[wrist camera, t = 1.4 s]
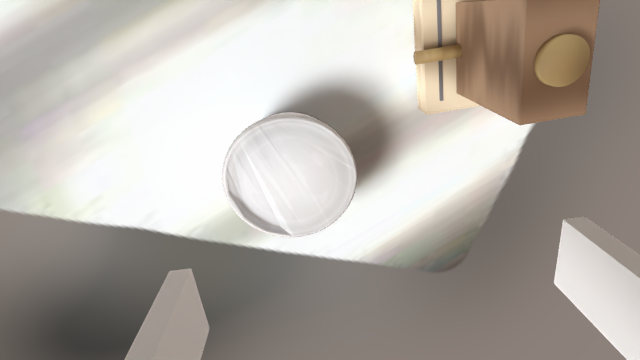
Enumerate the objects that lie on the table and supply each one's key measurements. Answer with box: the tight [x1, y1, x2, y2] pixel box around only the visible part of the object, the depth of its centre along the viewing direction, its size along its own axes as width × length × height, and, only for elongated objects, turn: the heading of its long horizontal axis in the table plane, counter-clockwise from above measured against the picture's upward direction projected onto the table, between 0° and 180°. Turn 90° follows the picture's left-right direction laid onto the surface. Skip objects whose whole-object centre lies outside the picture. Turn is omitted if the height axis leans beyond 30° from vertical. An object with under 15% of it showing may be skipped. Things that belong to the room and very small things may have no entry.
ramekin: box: [222, 112, 357, 237], centre depth 35 cm, size 11×11×5 cm
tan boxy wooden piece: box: [414, 0, 600, 125], centre depth 26 cm, size 7×8×11 cm
